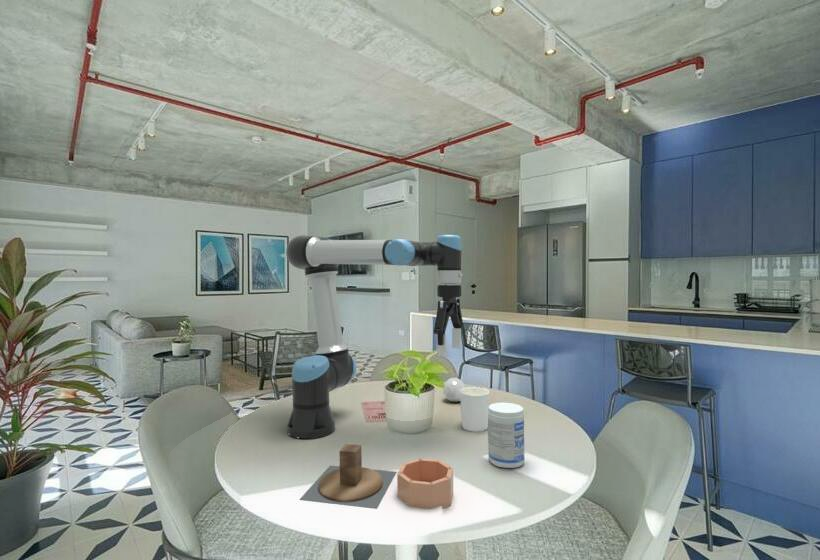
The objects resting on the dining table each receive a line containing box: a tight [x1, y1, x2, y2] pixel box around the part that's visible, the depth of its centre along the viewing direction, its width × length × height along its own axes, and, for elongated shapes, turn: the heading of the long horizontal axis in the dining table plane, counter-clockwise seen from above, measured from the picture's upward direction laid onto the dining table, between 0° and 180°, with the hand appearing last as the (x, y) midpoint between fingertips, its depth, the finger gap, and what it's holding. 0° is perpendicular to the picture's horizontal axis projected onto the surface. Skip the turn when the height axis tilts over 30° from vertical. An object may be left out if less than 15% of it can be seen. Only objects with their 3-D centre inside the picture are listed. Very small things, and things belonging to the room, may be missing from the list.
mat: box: [299, 465, 398, 510], centre depth 100 cm, size 18×17×1 cm
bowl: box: [396, 458, 454, 510], centre depth 96 cm, size 12×12×6 cm
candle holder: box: [459, 386, 491, 433], centre depth 139 cm, size 10×10×12 cm
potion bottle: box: [442, 377, 482, 403], centre depth 167 cm, size 9×10×15 cm
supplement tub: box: [487, 402, 525, 469], centre depth 114 cm, size 10×10×15 cm
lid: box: [319, 443, 383, 502], centre depth 100 cm, size 15×15×9 cm
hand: (449, 351), depth 133 cm, fingers open, 13 cm apart
